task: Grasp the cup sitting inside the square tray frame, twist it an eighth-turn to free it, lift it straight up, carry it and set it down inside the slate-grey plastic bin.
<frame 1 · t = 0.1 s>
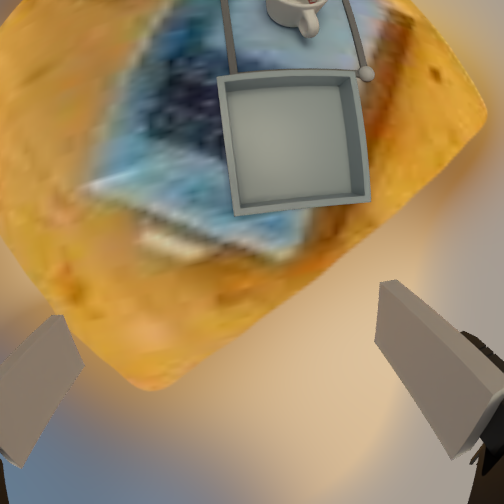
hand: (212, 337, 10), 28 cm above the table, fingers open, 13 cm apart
cup: (292, 20, 29), resting in square tray frame
bin: (291, 141, 34), on the table
square tray frame: (292, 20, 29), on the table
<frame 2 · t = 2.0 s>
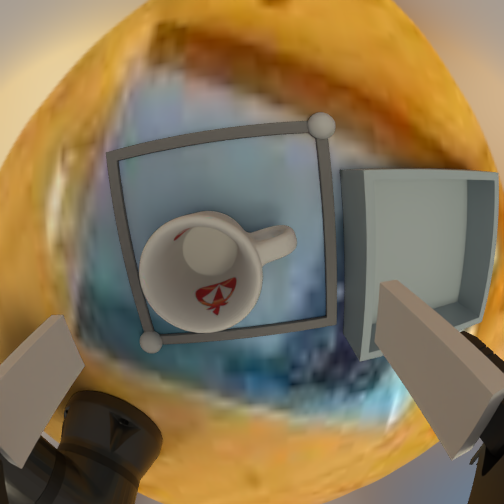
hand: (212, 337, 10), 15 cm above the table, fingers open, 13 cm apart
cup: (226, 241, 25), resting in square tray frame
bin: (415, 248, 26), on the table
square tray frame: (225, 241, 25), on the table
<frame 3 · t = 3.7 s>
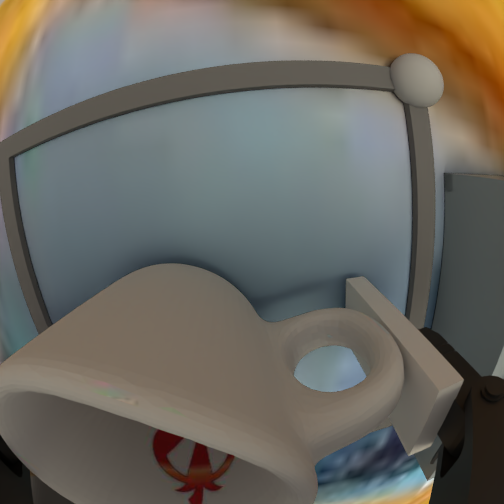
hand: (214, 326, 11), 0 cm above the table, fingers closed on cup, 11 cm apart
cup: (215, 318, 12), resting in square tray frame, touching gripper
square tray frame: (214, 321, 11), on the table
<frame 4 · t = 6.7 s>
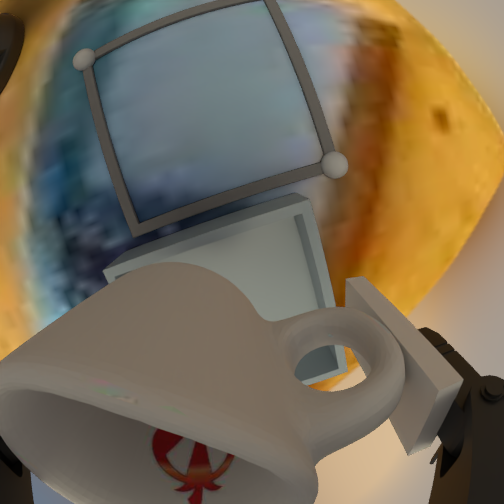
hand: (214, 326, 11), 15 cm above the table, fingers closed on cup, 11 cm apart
cup: (215, 317, 12), point 14 cm above the table, touching gripper
bin: (235, 303, 27), on the table
square tray frame: (198, 97, 21), on the table
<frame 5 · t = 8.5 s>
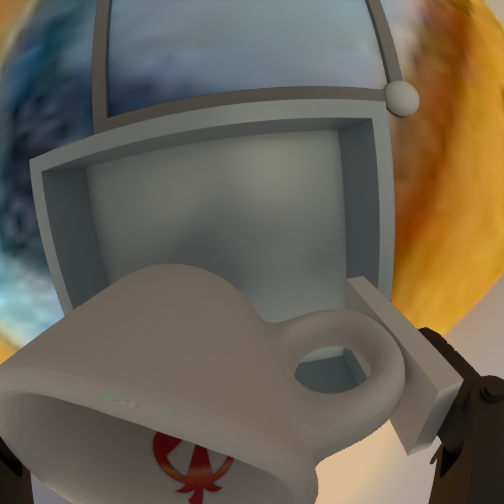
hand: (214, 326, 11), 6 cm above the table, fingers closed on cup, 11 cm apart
cup: (215, 318, 12), point 6 cm above the table, touching gripper
bin: (222, 268, 17), on the table
when the fingers open (3 cm above the table, at t = 9.8 s): cup drops 2 cm, resting on bin.
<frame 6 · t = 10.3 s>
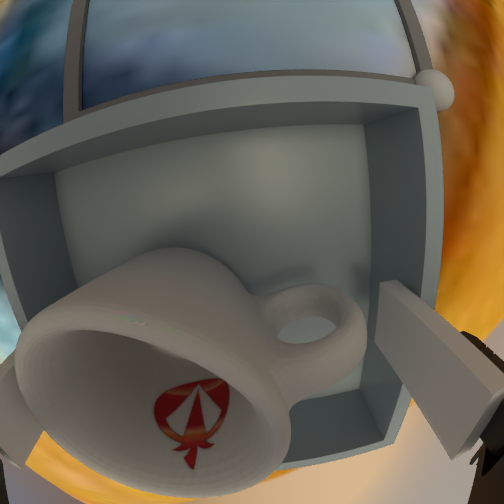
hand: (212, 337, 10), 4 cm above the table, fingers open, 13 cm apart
cup: (211, 298, 13), resting on bin
bin: (219, 295, 14), on the table
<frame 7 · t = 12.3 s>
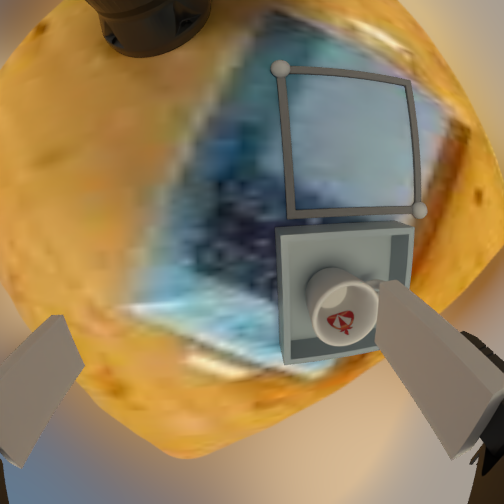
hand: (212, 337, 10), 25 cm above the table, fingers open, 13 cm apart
cup: (337, 285, 36), resting on bin
bin: (338, 284, 37), on the table
square tray frame: (357, 139, 32), on the table
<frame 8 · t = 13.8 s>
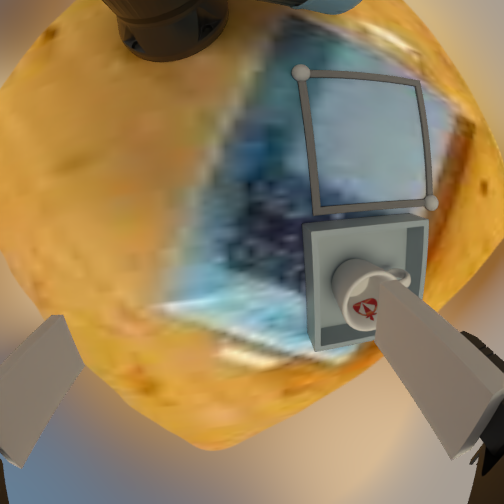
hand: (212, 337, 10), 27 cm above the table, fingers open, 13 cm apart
cup: (359, 275, 38), resting on bin
bin: (360, 274, 39), on the table
square tray frame: (373, 139, 33), on the table
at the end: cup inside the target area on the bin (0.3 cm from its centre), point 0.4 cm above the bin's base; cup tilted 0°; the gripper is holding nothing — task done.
